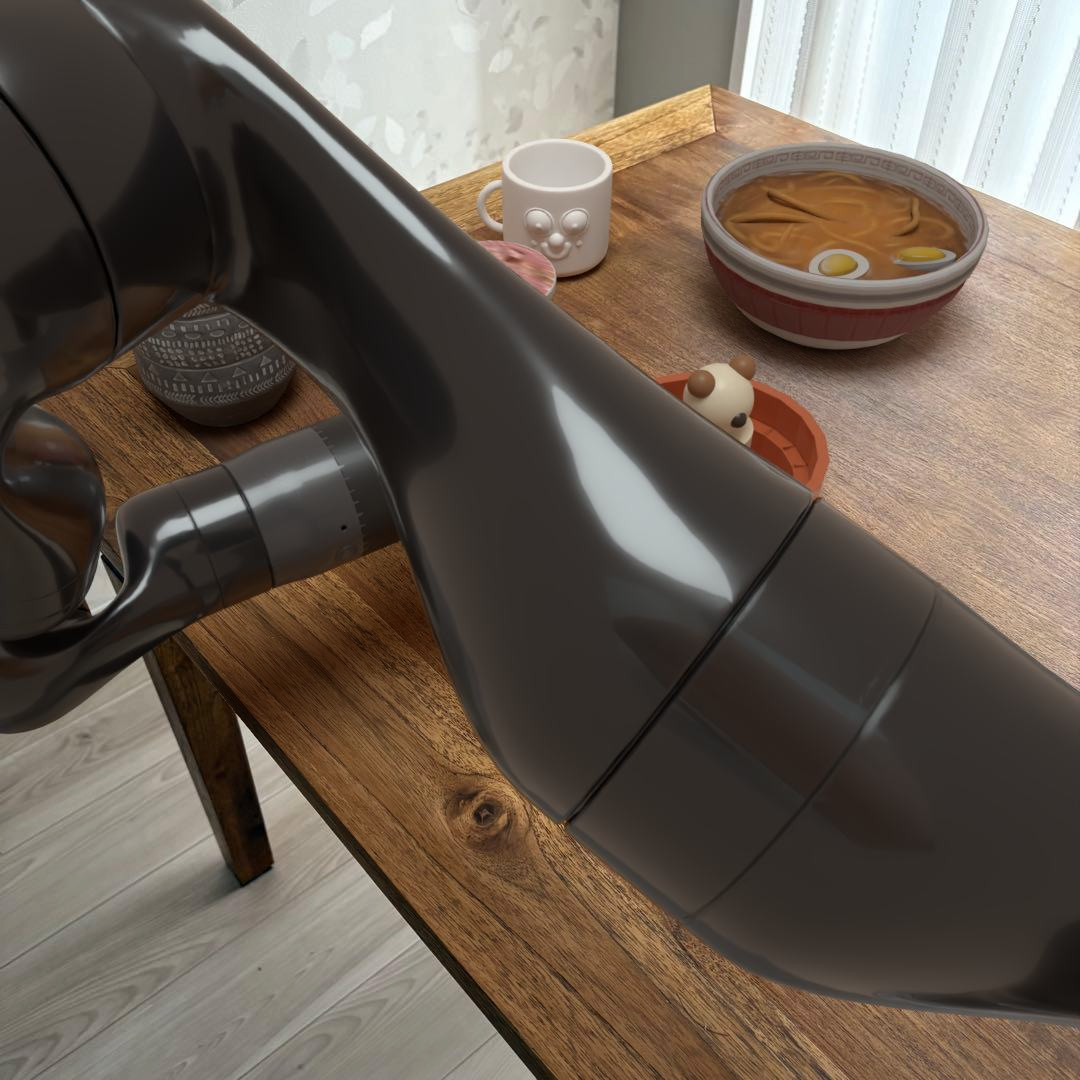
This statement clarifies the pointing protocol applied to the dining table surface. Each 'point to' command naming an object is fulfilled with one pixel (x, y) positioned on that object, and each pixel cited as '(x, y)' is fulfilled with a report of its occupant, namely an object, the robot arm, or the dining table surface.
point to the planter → (213, 368)
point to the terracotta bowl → (779, 432)
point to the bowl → (839, 241)
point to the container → (525, 264)
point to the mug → (555, 202)
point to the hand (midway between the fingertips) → (580, 395)
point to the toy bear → (725, 395)
